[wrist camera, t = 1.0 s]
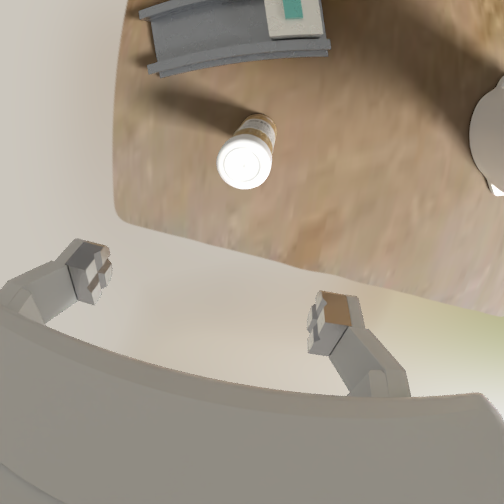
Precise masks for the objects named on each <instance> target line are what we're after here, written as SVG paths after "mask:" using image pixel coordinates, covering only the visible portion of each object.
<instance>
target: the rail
mask: <svg viewBox="0 0 504 504" xmlns="http://www.w3.org/2000/svg"><path fill="white" fill-rule="evenodd" d="M139 18H140V20H145V21H150V22H151V26H152V32H153V39H154V45H155V51H156V57H157V62H156V63H153V64H149V65H147V67H148V73H149V74H156V73H159V74H160V78H164V77H168V76H172V75H176V74H180V73H185V72H189V71H194V70H199V69H204V68H209V67H215V66H221V65H227V64H234V63H241V62H249V61H257V60H267V59H279V58H296V57H328V50H331V43H330V39H326V33H325V25H324V18H323V11H322V4H321V0H170V1H167V2H164V3H161V4H158V5H155V6H152V7H149V8H146V9H143V10H140V11H139Z"/></svg>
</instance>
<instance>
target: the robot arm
mask: <svg viewBox="0 0 504 504" xmlns="http://www.w3.org/2000/svg"><path fill="white" fill-rule="evenodd" d="M469 139H470V148H471V153H472V156H473V159H474V162H475V164H476V165H477V167H478V169H479V170H480V171H481V173H482V174H483V175H484V176H485V177H486V179H487V182H488V185H489V188H490V191H491V193H493V194H494V195H495V196H501V195H504V76H503V77H502V78H501V79H500V81H499V82H498V84H497V86H496V87H495V88H494V89H493V90H492V91H490V92H488V93H487V94H486V95H484V96H483V97H482V98H481V100H480V101H479V102H478V104H477V106H476V108H475V110H474V112H473V115H472V119H471V123H470V132H469ZM109 256H110V251H109V248H108V247H107V246H105V245H101V244H97V243H93V242H89V241H85V240H81V239H74V240H73V241H72V242H71V243H70V245H69V246H68V247H67V248H66V249H65V250H64V251H63V252H62V253H61V255H60V256H59V257H58V258H57V259H56V260H55V261H50V262H48V263H46V264H44V265H41V266H39V267H37V268H34V269H32V270H30V271H28V272H26V273H24V274H22V275H19V276H18V277H15V278H13V279H11V280H9V281H7V283H6V284H5V285H4V286H3V288H2V289H1V290H0V504H504V421H503V418H502V416H501V414H500V413H499V412H498V410H497V409H496V408H495V407H494V405H493V404H492V403H491V402H490V401H489V399H488V398H486V397H485V396H484V395H483V394H481V393H466V394H456V395H444V396H429V397H411V394H410V389H409V385H408V380H407V376H406V371H405V370H404V368H403V367H402V366H401V365H400V364H399V363H398V362H397V361H396V359H395V358H394V357H393V356H392V355H391V354H390V352H389V351H387V349H386V348H385V347H384V346H383V345H382V343H381V342H380V341H379V340H378V339H377V338H376V337H375V336H374V335H373V333H372V332H371V331H370V330H369V329H365V325H364V321H363V316H362V311H361V307H360V303H359V299H358V298H357V296H351V295H343V294H337V293H332V292H326V291H319V292H318V293H317V296H316V304H314V305H313V306H312V307H311V309H310V312H309V315H308V319H307V320H308V321H307V330H308V331H309V333H310V335H309V337H308V353H310V354H316V355H323V356H329V359H330V360H331V362H332V363H333V365H334V367H335V368H336V370H337V372H338V373H339V375H340V377H341V378H342V379H343V382H344V383H345V385H346V386H347V388H348V390H349V391H350V393H349V394H348V395H347V396H335V395H322V394H311V393H301V392H292V391H284V390H276V389H269V388H262V387H256V386H250V385H244V384H238V383H232V382H227V381H222V380H217V379H212V378H207V377H202V376H198V375H194V374H189V373H185V372H181V371H177V370H173V369H169V368H166V367H162V366H158V365H155V364H151V363H147V362H144V361H140V360H137V359H134V358H131V357H128V356H124V355H121V354H118V353H115V352H112V351H109V350H106V349H103V348H100V347H98V346H95V345H92V344H89V343H87V342H84V341H81V340H79V339H76V338H74V337H71V336H68V335H66V334H64V333H61V332H59V331H56V330H54V329H52V328H49V327H47V326H46V325H45V323H47V322H48V321H50V320H51V319H52V318H54V317H55V316H57V315H58V314H60V313H61V312H63V311H64V310H66V309H67V308H68V307H70V306H71V305H73V304H74V303H76V302H77V300H78V301H82V302H85V303H88V304H92V305H95V304H96V303H97V301H98V299H99V298H100V296H101V295H102V291H101V289H102V288H104V287H106V286H107V285H108V283H109V281H110V279H111V276H112V264H111V262H110V261H109V260H108V257H109Z"/></svg>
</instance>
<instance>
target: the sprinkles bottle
mask: <svg viewBox="0 0 504 504" xmlns="http://www.w3.org/2000/svg"><path fill="white" fill-rule="evenodd" d="M276 135H277V129H276V125H275V123H274V122H273V121H272V119H270V118H269V117H267V116H265V115H262V114H254V115H251V116H249V117H247V118H246V119H245V120H244V121H243V123H242V124H241V126H240V127H239V128H238V129H237V130H236V131H235V133H234V135H233V136H232V138H230V139H229V140H228V141H227V142H226V143H225V144H224V145H223V146H222V148H221V149H220V151H219V153H218V156H217V162H216V163H217V169H218V172H219V174H220V176H221V178H222V179H223V180H224V181H225V182H226V183H227V184H229V185H231V186H232V187H235V188H238V189H251V188H254V187H257V186H259V185H260V184H262V183H263V182H264V181H265V180H266V178H267V177H268V175H269V173H270V169H271V165H272V153H273V147H274V143H275V138H276Z"/></svg>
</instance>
